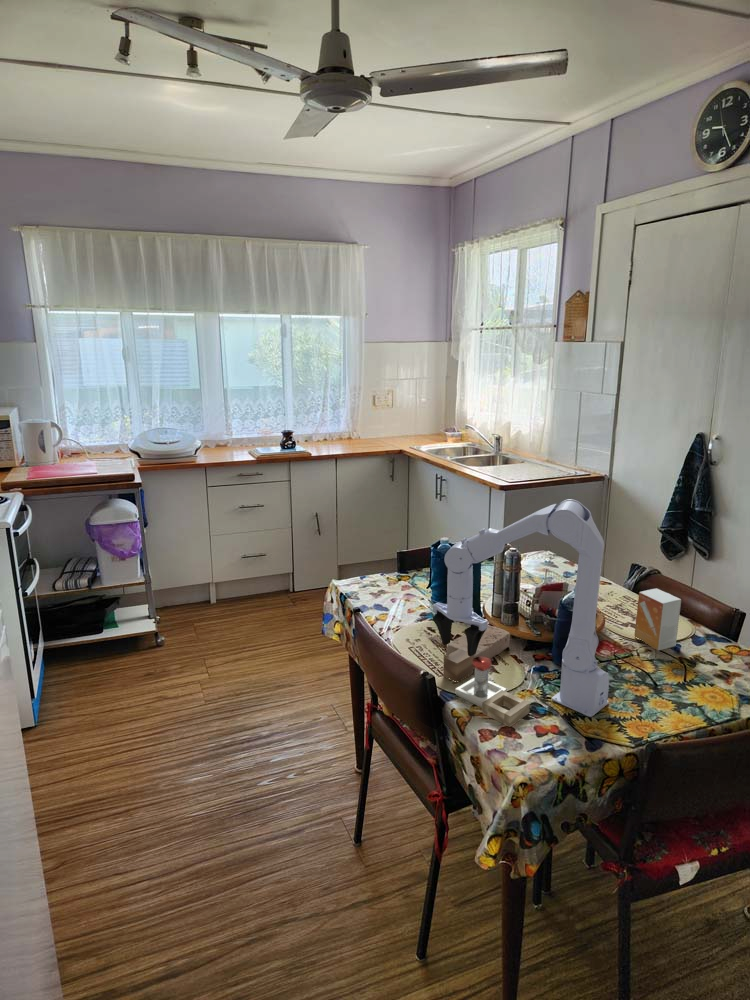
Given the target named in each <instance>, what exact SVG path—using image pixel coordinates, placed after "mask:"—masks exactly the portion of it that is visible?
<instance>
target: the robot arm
mask: <svg viewBox="0 0 750 1000" xmlns="http://www.w3.org/2000/svg"><path fill="white" fill-rule="evenodd" d="M555 507H556V508H555ZM592 516H593V515H592V513H591V510H589V509H588V508H587V507H586V506H585V505H584V504H583V503H582V502H580V501H579V500H575V499H573V498H571V499H569V498H568V499H565V500H563V501H561V502H559V503H558V504H557V503H553V504H551V505H548V506H546V507H543V508H541V509H539V510H536V511H535V512H533V513H531V514H529V515H527V516H525V517H523V518H521V519H519V520H517V521H515V522H514V523H511V524H510V525H508V526H506V527H503V528H502V529H495V528H491V527H490V528H487V529H486V527H483V528H481V529H479V531H478V534H476V535H475V534H474V535H472V536H471V537H469V538H467V537H463V538H462V539H461V540H460V541H457V542H455V544H453V545H452V546H451V547H450V548H449V549H448V550H447V551H446V553H445V554H444V559H443V561H444V564H445V566H446V568H447V575H446V576H447V578H446V579H447V580H446V582H447V583H446V584H447V585H446V586H447V589H446V590H447V592H446V593H447V596H446V599H447V600H446V603H442V602H436V603H434V604H432V613H433V614H436V615H434V616H433V617H432V621H433V622H434V624H435V625H436V627H437V630H438V633H439V635H440V636H439V637H440V640H441V643H442V645H443V646H446V645H448V644H449V643H451V642H452V641H451V640H452V627H453V626H452V625H453V622H454V621H455V622H462V623H465V624H467V625H470V626H468V627H467V628H465V629H463V631H464V635H465V634H466V638H467V652H468V656H473V655H474V654H476V651H477V647H478V644H479V642H480V639H481V637H482V635H483V634H484V632H485V631H486V629H487V628H488V625H489V623H488V622H489V620H487V619H484V617H481V616H480V615H478V614H477V613H476V612H474V608H473V596H474V595H473V594H474V593H473V592H474V591H473V590H474V588H473V587H474V585H473V584H474V574H473V571H474V569H473V567H474V566H473V564H479V563H481V562H483V561H485V560H488V559H489V558H493V557H494V556H497V555H499V554H501V553H503V551H504V549H505V545H507V544H509V543H512V542H514V541H516V540H519V539H522V538H525V537H527V536H530V535H531V534H534V533H540V534H541V535H545V536H549V535H550V533H551V534H552V535H553V537H555V539H558V540H560V541H562V542H563V543H566V544H568V545H569V546H571V547H572V548H573V549H574V550H575V551H576V552H577V553H578V561H577V571H576V581H575V590H574V597H573V598H574V599H573V609H572V619H571V625H570V631H569V633H568V638H567V642H566V644H565V647H564V648H563V650H562V659H561V672H560V673H561V675H560V688H559V692H557V693H556V694H554V695H553V696H552V697H551V701H554V702H555V703H558V704H560V705H562V706H564V707H566V708H568V709H572V710H573V711H576V712H578V713H580V714H583V715H584V716H587V717H588V718H592V717H593V716H595V714H597V713H598V712H599V711H601V710H602V709H603V708H605V706H607V705H608V704H609V703H610V700H608V696H609V686H610V675H609V672H606V671H604V670H603V669H602V668H601V667H599V665H598V660H597V659H596V657H595V655H596V651H597V648H598V646H599V637H598V634H597V632H596V626H597V623H596V619H597V618H596V616H597V610H598V603H599V602H598V600H599V593H600V583H601V575H602V566H603V558H604V549H605V541H604V538H603V536H602V534H601V533H600V531H599V529H598V527H597V525H596V523H595V521H594V519H593V517H592Z"/></svg>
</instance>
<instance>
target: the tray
mask: <svg viewBox="0 0 750 1000" xmlns="http://www.w3.org/2000/svg"><path fill="white" fill-rule="evenodd" d="M501 690H503V691H505V692H508V691H507V690H508V689H507V687H504V686H501V685H500V684H498V683H494V681H491V680H490V679H488V695H487V696H486V697H483V698H480V697H477V696H475V695H474V677H473V678H471V679H469V680H468V681H466V682H464V683H463V684H461V685H459V686H458V687H455V692H454V693H455V694H456V695H455V696H457V697H459V698H461V699H463V700H465V701H467V702H469V703H472V704H473V705H475V706H477V707H479V708H481V709H482V702H484V701H486V700H487V699H489V698H490V697H492V696H493V695H495V694H497V693H498V692H500V691H501Z"/></svg>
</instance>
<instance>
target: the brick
mask: <svg viewBox="0 0 750 1000" xmlns="http://www.w3.org/2000/svg"><path fill="white" fill-rule="evenodd" d="M510 639H511V632H509V631H507V630H505V629H504V628H503V629H502V628H500V627H497V626H492V625H489V624H488V628H487V629H486V631H485V632H484V634H483V635H482V637H481V639H480V642H479V644H478V647H477V651H476V654H474V656H473V659H474V658H476V657H486V658H489V659H490V660H492V658H494V657H495V656H497V655H499V654H501V653H503V651H505V650H506V649H507V648H509V647H510ZM459 649H462V650H464V651H467V638H466V634H465V633H464V634H463V635H462V636H459V637H456V638H455V639H454V640H452V641H450V643H448V644H447V647H446V655H445V656H447V655H449V654H451V653H453V652H455V651H457V650H459ZM473 670H475V668H474V667H473Z"/></svg>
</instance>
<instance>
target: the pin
mask: <svg viewBox="0 0 750 1000" xmlns="http://www.w3.org/2000/svg"><path fill="white" fill-rule="evenodd" d="M473 667H474V677H473V678H474V695H475V696H477V697H480V698H483V697H486V696H487V695H488V680H489V671H490V670H489V669H491V667H492V659H489V658H486V657H476V658H474V659H473Z"/></svg>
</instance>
